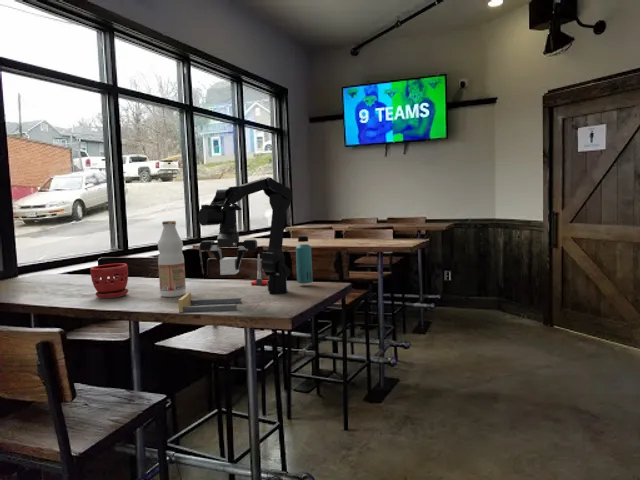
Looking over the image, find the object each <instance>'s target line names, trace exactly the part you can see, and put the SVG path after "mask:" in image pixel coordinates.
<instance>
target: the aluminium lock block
mask: <svg viewBox="0 0 640 480" xmlns="http://www.w3.org/2000/svg"><path fill="white" fill-rule="evenodd" d="M219 269H220V271H219V272H220V273H219V275H220V276H223V275H224V276H225V275H236V274H238V273H239V272H240V269H239V270H237V256H234V257H232V256H231V257H226V256H225V257H222V259H220V266H219Z"/></svg>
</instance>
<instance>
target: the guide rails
mask: <svg viewBox="0 0 640 480" xmlns="http://www.w3.org/2000/svg"><path fill="white" fill-rule="evenodd" d="M241 303H242V297H228V298H225V297H224V298H202V299H201V298H200V299H199V298H198V299H192V293H191V292H186V293H185V294H184V295H182V296H180V298H179V299H178V312H179V313H193V312H192V311H198V312H217V311H218V312H219V311H237V310H238V305H237V304H241ZM194 304H197V305H196V306H195V305H194ZM220 304H221V305H220Z"/></svg>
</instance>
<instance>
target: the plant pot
mask: <svg viewBox="0 0 640 480" xmlns="http://www.w3.org/2000/svg"><path fill="white" fill-rule="evenodd" d="M89 272H90V276H91V282H92V284H93V287H94V289H95V290H96V292H95V296H96V297H97V298H99V299H115V298H120V297H123V296H125V295H127V294H128V292H129V289H128V288H126V287H127V285H128V281H129V279H128V278H129V268H128V264H127V263H123V262H122V263H121V262H120V263H108V264H101V265H96V266H92V267H90V270H89ZM117 274H118V275H117Z"/></svg>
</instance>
